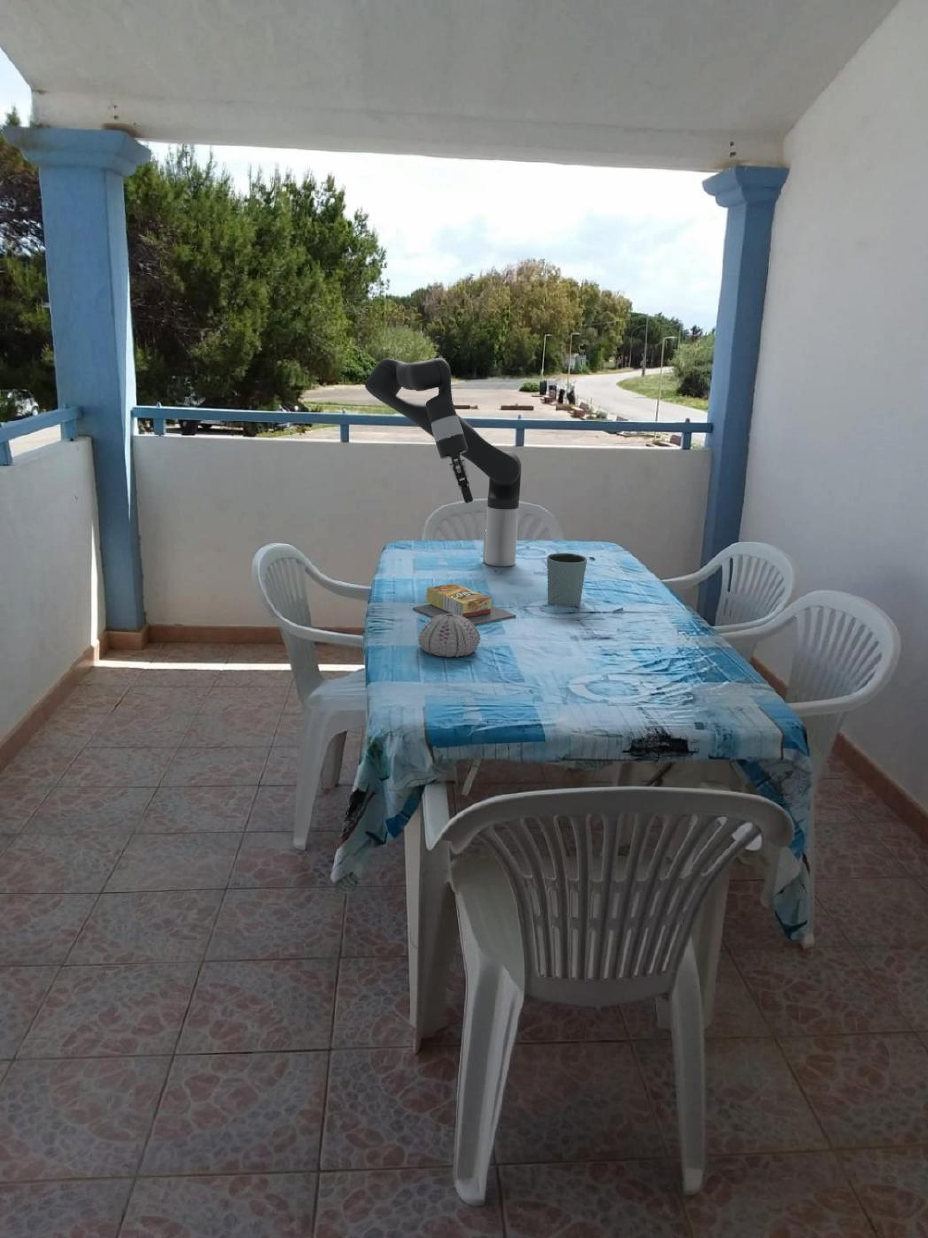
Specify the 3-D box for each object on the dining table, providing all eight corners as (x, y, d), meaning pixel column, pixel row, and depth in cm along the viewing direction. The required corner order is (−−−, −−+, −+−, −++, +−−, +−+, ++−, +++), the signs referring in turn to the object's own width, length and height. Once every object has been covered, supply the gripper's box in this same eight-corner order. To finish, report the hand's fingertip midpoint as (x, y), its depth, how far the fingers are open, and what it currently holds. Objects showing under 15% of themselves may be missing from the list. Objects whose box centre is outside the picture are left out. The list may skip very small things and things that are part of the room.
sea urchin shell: (458, 666, 178) (459, 629, 175) (404, 652, 184) (405, 616, 182) (490, 648, 188) (492, 613, 186) (439, 636, 195) (440, 602, 193)
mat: (412, 609, 213) (412, 607, 213) (470, 598, 224) (470, 596, 224) (457, 629, 200) (457, 627, 200) (515, 617, 210) (516, 615, 210)
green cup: (586, 600, 227) (590, 555, 223) (578, 610, 218) (582, 564, 214) (549, 595, 230) (552, 551, 226) (539, 605, 221) (542, 559, 217)
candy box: (454, 582, 220) (492, 597, 209) (453, 598, 222) (491, 613, 210) (425, 587, 215) (463, 602, 204) (425, 603, 217) (462, 619, 205)
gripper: (437, 444, 228) (456, 507, 229) (433, 438, 215) (454, 505, 216) (464, 435, 227) (483, 498, 229) (462, 429, 214) (482, 496, 216)
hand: (469, 502), depth 222 cm, fingers closed
